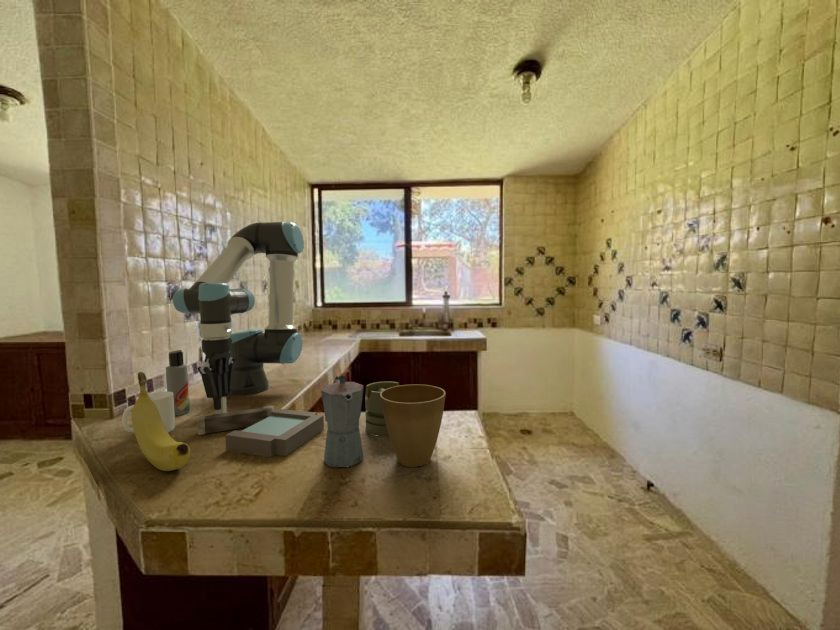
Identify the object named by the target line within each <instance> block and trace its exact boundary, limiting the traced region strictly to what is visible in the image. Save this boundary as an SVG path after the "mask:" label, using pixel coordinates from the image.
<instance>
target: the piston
mask: <svg viewBox="0 0 840 630" xmlns="http://www.w3.org/2000/svg"><path fill="white" fill-rule="evenodd" d="M395 386H400V382H397V381H377V382H373V383H372V382H371V383H369V384H367V385H366V386H365V396H364V397H365V402H364V403H365V404H364V405H365V432H366V431H367V432H368V433H367V432H366V433H367V434H369V433H370V434H369V435H371V434H373V435H372V436H374V435H378V436H377V437H382V436H386V437H389V434H388V430H387V427H386V423H385V419H384V414H383V409H382V403H381V397H380V393H381V392H382V391H384V390H385V389H388V388H391V387H395Z"/></svg>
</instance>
